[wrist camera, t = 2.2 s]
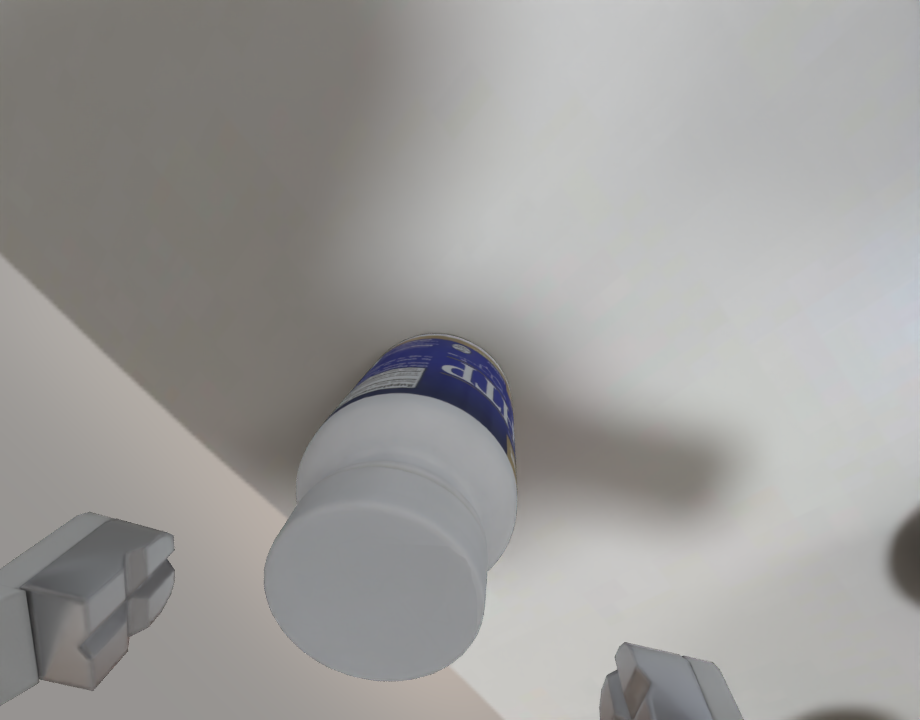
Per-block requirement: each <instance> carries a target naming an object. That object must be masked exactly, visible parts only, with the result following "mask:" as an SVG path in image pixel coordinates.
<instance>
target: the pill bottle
mask: <svg viewBox="0 0 920 720" xmlns="http://www.w3.org/2000/svg"><path fill="white" fill-rule="evenodd" d="M296 499H297V506H296V507H295V509H294V511H293V512H292V514H291V515H290V517H289V519H288V520H287V522H286V523H285V525H284V526H283V528H282V529H281V531H280V533H279V534H278V535H277V537H276V539H275V540H274V542H273V544H272V546H271V548H270V551H269V553H268V556H267V559H266V563H265V568H264V589H265V594H266V598H267V601H268V604H269V608H270V610H271V612H272V614H273V616H274V618H275V619H276V621H277V623H278V624H279V626H280V628H281V629H282V631H283V632H284V633H285V634H286V635H287V637H289V639H290V640H291V641H292V642H293V643H294V644H295V645H296V646H297V647H299V648H300V649H301V650H302V651H303V652H304V653H306V654H307V655H309V656H310V657H312V658H313V659H315V660H316V661H317V662H319V663H321V664H323V665H325V666H326V667H329V668H331V669H334V670H336V671H338V672H341V673H344V674H346V675H350V676H353V677H357V678H362V679H368V680H374V681H404V680H412V679H416V678H420V677H424V676H427V675H431V674H434V673H435V672H437V671H439V670H441V669H443V668H445V667H447V666H449V665H450V664H451V663H453V662H454V661H456V660H457V659H458V658H459V657H461V656H462V655H463V654H464V653H465V651H466V650H467V649H468V648H469V646H470V645H471V644H472V642H473V641H474V639H475V638H476V636H477V634H478V632H479V629H480V626H481V624H482V619H483V615H484V609H485V599H486V584H487V571H489V570H490V569H491V568H492V567H493V566H494V564H495V563H496V562H497V561H498V559H499V558H500V557H501V555H502V554H503V552H504V550H505V549H506V547H507V545H508V543H509V540H510V538H511V535H512V532H513V529H514V525H515V520H516V513H517V477H516V458H515V438H514V420H513V404H512V396H511V391H510V387H509V384H508V381H507V379H506V377H505V375H504V373H503V371H502V370H501V368H500V366H499V365H498V364H497V363H496V361H495V360H494V359H493V358H492V357H491V356H490V355H489V354H488V353H487V352H485V351H484V350H483V349H481V348H480V347H478V346H477V345H475V344H473V343H471V342H469V341H467V340H465V339H462V338H459V337H456V336H452V335H446V334H425V335H420V336H415V337H412V338H409V339H407V340H404V341H402V342H400V343H399V344H397V345H395V346H393V347H392V348H391V349H390V350H388V351H387V352H386V353H385V354H384V355H383V356H382V357H381V358H380V359H379V360H378V361H377V362H376V363H375V364H374V366H373V367H372V368H371V369H370V370H369V371H368V372H367V373H366V374H365V376H364V377H363V378H362V379H361V380H360V381H359V383H358V384H357V385H356V386H355V387H354V389H353V390H352V391H351V392H350V393H349V394H348V395H347V397H346V398H345V399H344V400H343V401H342V402H341V403H340V405H339V406H338V407H337V408H336V409H335V410H334V411H333V413H332V414H331V415H330V416H329V417H328V419H327V420H326V421H325V422H324V423H323V425H322V426H321V427H320V429H319V430H318V431H317V433H316V434H315V435H314V437H313V438H312V440H311V441H310V443H309V445H308V446H307V448H306V451H305V453H304V455H303V458H302V460H301V463H300V466H299V470H298V474H297V481H296Z"/></svg>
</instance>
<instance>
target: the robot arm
mask: <svg viewBox="0 0 920 720" xmlns="http://www.w3.org/2000/svg"><path fill="white" fill-rule="evenodd" d="M174 550H175V549H174V536H173V535H172V534H169V533H167V532H164V531H160V530H156V529H153V528H149V527H145V526H142V525H138V524H134V523H131V522H127V521H123V520H119V519H114V518H110V517H107V516H103V515H99V514H96V513H92V512H88V513H84V514H81V515H77V516H76V517H74V518H73V519H71V520H70V521H68V522H67V523H66V524H64V525H63V526H61V527H60V528H58V529H57V530H55V531H54V532H53V533H51V534H50V535H48V536H47V537H45V538H44V539H43V540H41V541H40V542H38V543H37V544H35V545H34V546H33V547H31V548H30V549H28V550H27V551H25V552H24V553H22V554H21V555H20V556H18V557H16V558H15V559H14V560H12V561H11V562H9V563H8V564H7V565H5V566H3V567H2V568H1V569H0V706H1V705H3V704H4V703H6V702H8V701H9V700H11V699H13V698H14V697H16V696H18V695H20V694H21V693H23V692H25V691H26V690H28V689H30V688H31V687H33V686H35V685H36V684H38V683H39V679H40V680H45V681H49V682H55V683H59V684H63V685H68V686H73V687H77V688H82V689H87V690H91V691H93V690H94V689H95V688H96V687H97V686H98V685H99V684H100V682H101V681H102V680H103V679H104V678H105V677H106V676H107V674H108V673H109V672H110V671H111V670H112V669H113V667H114V666H115V665H116V664H117V663H118V662H119V661H120V660H121V658H122V657H123V656H124V655H125V654H126V653H127V652H128V645H129V637H130V636H132V635H134V634H136V633H138V632H140V631H142V630H144V629H146V628H148V627H149V626H150V625H151V624H152V622H153V621H154V620H155V619H156V618H157V617H158V615H159V614H160V613H161V612H162V610H163V608H164V606H165V605H166V603H167V600H168V599H169V597H170V595H171V592H172V589H173V585H174V581H175V570H174V568H173V567H172V565H171V564H170V563H169V561H168V560H167V558H168V556H170V554H172V553H173V551H174ZM615 661H616V665H617V670H615V671H614V672H612V673H610V674H608V675H607V676H606V679H605V681H604V684H603V687H602V689H601V698H600V707H599V709H600V720H744V719H743V717H742V715H741V713H740V711H739V709H738V706H737V704H736V702H735V700H734V698H733V696H732V694H731V692H730V690H729V688H728V686H727V683H726V681H725V679H724V677H723V675H722V673H721V671H720V669H719V668H718V667H717V666H716V665H715V664H714V663H713V662H709V661H704V660H700V659H696V658H691V657H687V656H681V655H679V654H675V653H671V652H666V651H662V650H658V649H653V648H649V647H644V646H640V645H636V644H631V643H627V642H624V643H623V644H622V645H621V646H619V649H618V651H617V653H616V655H615Z"/></svg>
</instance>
